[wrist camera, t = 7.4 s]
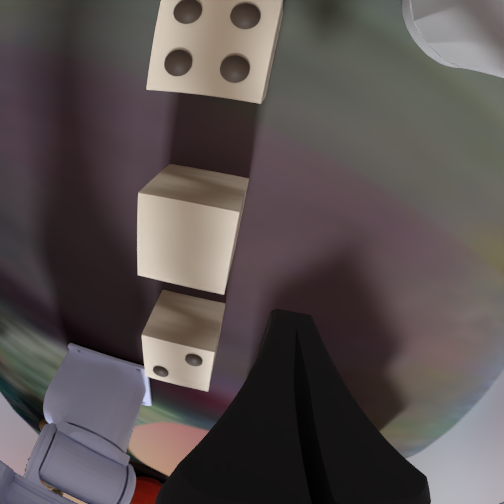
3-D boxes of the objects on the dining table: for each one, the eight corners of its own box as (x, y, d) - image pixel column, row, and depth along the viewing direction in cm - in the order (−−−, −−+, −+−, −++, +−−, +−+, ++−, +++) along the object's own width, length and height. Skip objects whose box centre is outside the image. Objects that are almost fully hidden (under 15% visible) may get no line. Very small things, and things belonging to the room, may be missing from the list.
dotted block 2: (162, 332, 27) (145, 377, 22) (162, 289, 24) (141, 335, 20) (218, 344, 27) (207, 392, 22) (225, 302, 24) (214, 353, 20)
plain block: (164, 233, 21) (137, 275, 17) (169, 163, 19) (138, 192, 15) (235, 247, 22) (223, 294, 17) (249, 178, 19) (239, 212, 15)
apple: (133, 467, 52) (120, 512, 42) (176, 483, 54) (167, 527, 44) (124, 474, 56) (112, 513, 47) (162, 488, 59) (153, 527, 49)
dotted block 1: (179, 84, 16) (145, 89, 12) (193, 5, 14) (163, -16, 9) (265, 96, 16) (260, 103, 12) (282, 16, 14) (283, -7, 9)
